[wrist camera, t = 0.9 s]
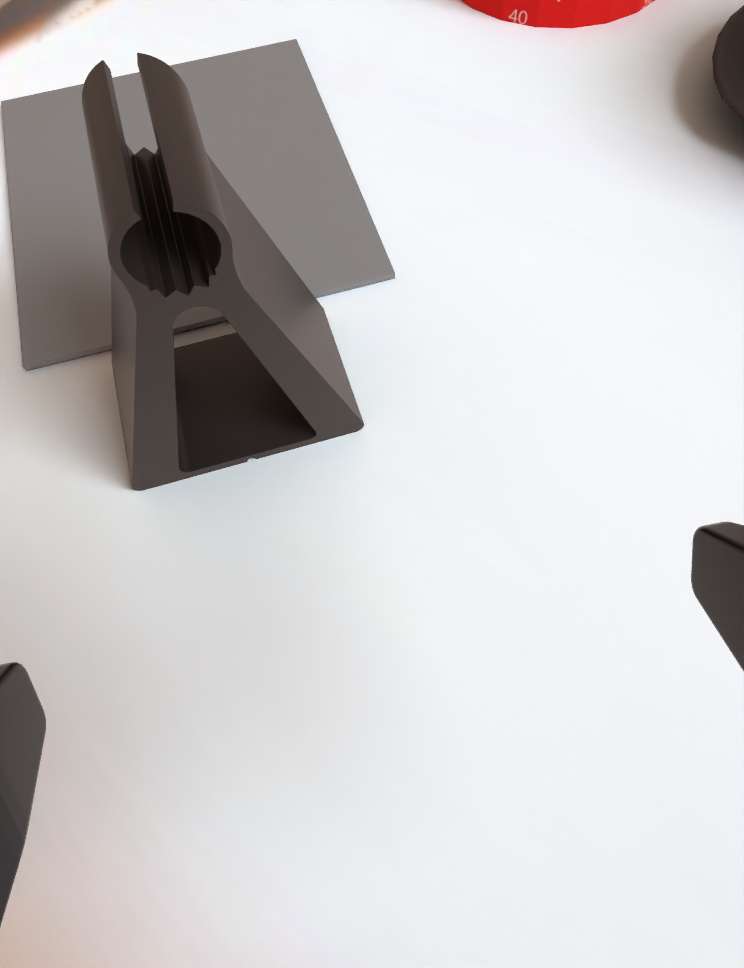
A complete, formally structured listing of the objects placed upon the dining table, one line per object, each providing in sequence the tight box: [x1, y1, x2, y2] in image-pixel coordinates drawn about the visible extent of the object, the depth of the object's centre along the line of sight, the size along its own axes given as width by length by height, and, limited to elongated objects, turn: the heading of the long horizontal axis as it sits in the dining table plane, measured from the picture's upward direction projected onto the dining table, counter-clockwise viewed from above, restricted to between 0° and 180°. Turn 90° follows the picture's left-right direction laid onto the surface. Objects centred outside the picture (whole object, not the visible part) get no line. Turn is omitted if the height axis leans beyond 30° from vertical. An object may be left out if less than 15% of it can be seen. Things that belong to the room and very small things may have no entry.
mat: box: [1, 39, 395, 371], centre depth 34 cm, size 18×16×1 cm
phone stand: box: [82, 53, 364, 490], centre depth 23 cm, size 9×6×12 cm, turn 106°
